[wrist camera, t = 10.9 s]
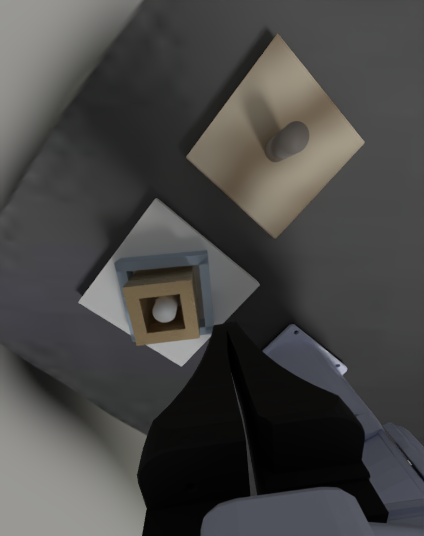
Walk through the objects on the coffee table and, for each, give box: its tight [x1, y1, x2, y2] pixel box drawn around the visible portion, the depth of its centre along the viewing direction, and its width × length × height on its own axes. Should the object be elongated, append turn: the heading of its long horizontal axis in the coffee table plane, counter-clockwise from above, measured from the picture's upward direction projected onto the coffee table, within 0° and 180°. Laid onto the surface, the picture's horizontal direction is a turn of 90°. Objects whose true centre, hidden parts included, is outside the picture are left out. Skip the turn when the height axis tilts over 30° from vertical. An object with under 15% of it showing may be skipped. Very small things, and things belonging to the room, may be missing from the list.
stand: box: [186, 34, 365, 239], centre depth 16 cm, size 10×10×4 cm
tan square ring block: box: [122, 265, 200, 346], centre depth 18 cm, size 5×5×4 cm
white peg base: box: [78, 198, 260, 367], centre depth 19 cm, size 12×12×4 cm
